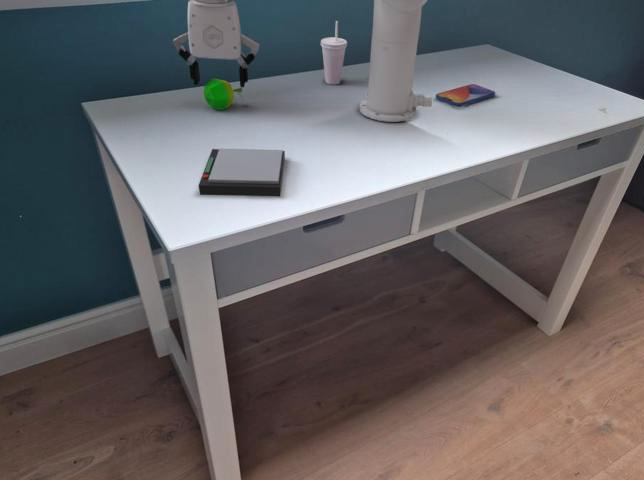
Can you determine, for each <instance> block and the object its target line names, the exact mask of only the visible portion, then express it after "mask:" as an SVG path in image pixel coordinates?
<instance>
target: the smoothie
mask: <svg viewBox="0 0 644 480" xmlns="http://www.w3.org/2000/svg"><path fill="white" fill-rule="evenodd" d="M338 32H339V21H338V20H335V31H334V36H332V37H331V36H330V37H324V38H321V40H320V44H319V45H320V46H321V50H322V51H321V53H322V60H323V69H324V70H323V72H324V79H325V82H324V83H326V84H328V85H339V84H341V80H342V73H343V72H342V71H343V66H344V60H345V54H346V48H347V47H348V41H347V40H346V39H344V38H341V37H338V36H339V35H338V34H339V33H338Z"/></svg>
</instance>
